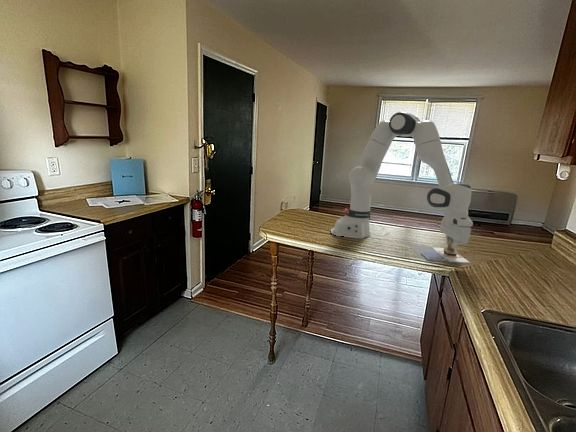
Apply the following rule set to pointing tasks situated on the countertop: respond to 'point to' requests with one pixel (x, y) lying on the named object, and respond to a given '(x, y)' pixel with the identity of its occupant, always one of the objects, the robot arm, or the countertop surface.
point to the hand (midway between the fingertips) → (450, 246)
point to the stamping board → (438, 255)
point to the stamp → (450, 249)
